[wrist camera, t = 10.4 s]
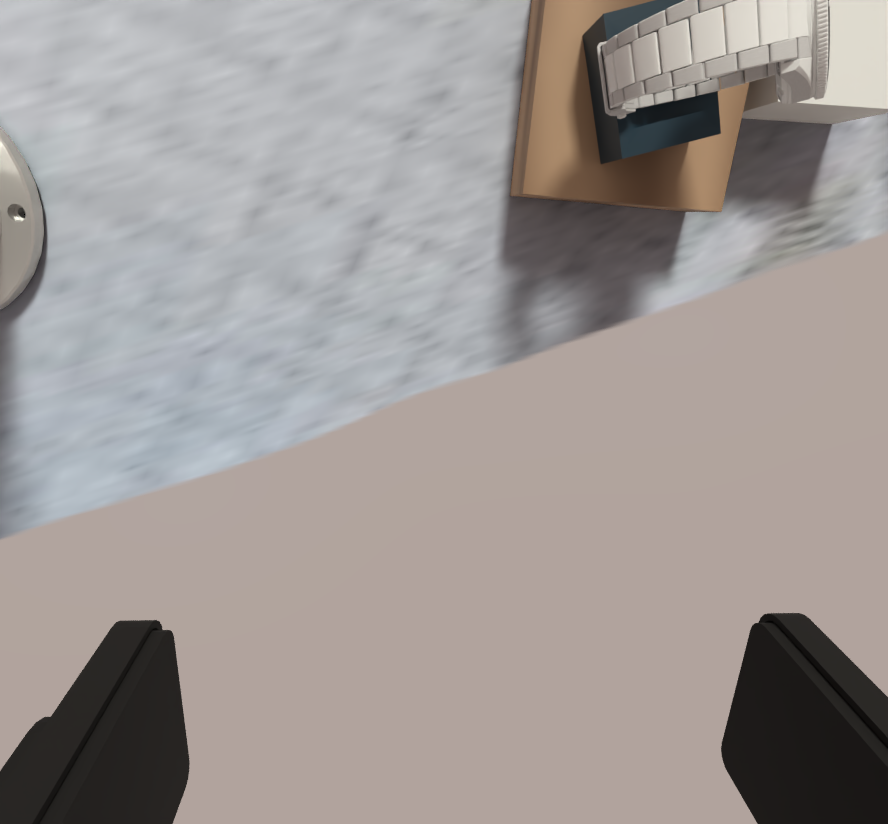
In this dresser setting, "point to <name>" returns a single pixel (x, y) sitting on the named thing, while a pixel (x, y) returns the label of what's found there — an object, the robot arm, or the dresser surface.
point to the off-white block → (838, 71)
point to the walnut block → (574, 134)
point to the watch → (696, 65)
